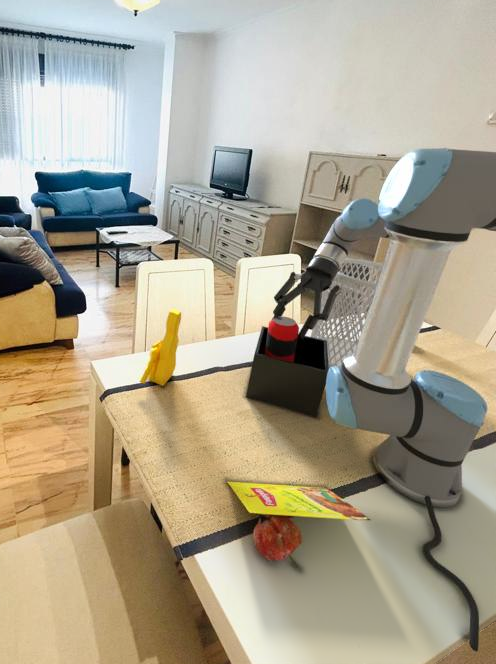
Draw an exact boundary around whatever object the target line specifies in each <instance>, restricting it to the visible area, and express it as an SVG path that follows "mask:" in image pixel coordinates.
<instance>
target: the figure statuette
mask: <svg viewBox="0 0 496 664" xmlns="http://www.w3.org/2000/svg"><path fill="white" fill-rule="evenodd" d="M181 321H182V311H180V310H177V309H173V308H172V309H171V310H170V311H169V312H168V315H167V318H166V323H165V329H166V331H165V335H164V337H163V339H161V340H159V341H158V342H156V343H154V344H153V345H151V349H150V351H149V360H148V362H147V365H146V367H145V369H144V371H143V374H142V376H141V378H140V380H139V383H141V384H144V385H145V384H146V382H147V380H148V381H149V382H152V383H155V384H157V385H159V386H162V387H164V386H165V385H166V383H167V382H168V381H169V380H170V379H171V378H172V376H173V374H174V372H175V370H176V366H177V350H178V346H179V340H180V339H179V336H178V334H179V328H180V326H181V325H180V324H181Z"/></svg>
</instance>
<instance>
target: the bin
mask: <svg viewBox="0 0 496 664" xmlns="http://www.w3.org/2000/svg"><path fill="white" fill-rule="evenodd" d="M267 333H268V326H265V325H264V326H263V325H262V326H261V329H260V332H259V336H258V340H257V344H256V347H255V350H254V354H253V359H252V364H251V368H250V374H249V378H248V384H247V390H246V394H245V398H248V399H251V400H254V401H258V402H261V403H265V404H267V405H272V406H275V407H278V408H280V409H281V408H282V409H285V410H287V411H292V412H294V413H298V414H301V415H305V416H309V417H313V418H317V416H318V413H319V409H320V406H321V403H322V400H323V396H324V392H325V390H326V379H327V373H328V370H329V362H328V348H327V341H326V340H322V339H317V338H318V337H317V338H313V337H311V336H308V335H305V337H304V338H303V340H301V339H299V336H298V338H297V344H296V350H295V356H294V362H290V361H286V360H282V359H278V358H274V357H270V356H266V355H265V348H266V340H267Z"/></svg>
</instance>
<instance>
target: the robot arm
mask: <svg viewBox="0 0 496 664" xmlns="http://www.w3.org/2000/svg"><path fill="white" fill-rule="evenodd" d="M378 202H379V203H378V204H377V203H376V201H372V200H370V199H369V198H365V197H362V198H357V199H354V200H353V201H351V202H350V203H349V204H348V205H347V206H346V207H345V208H343V210H342V212H341V213H340V215H339V216H338V217H336V219H335V221H333V223H332V224H331V226H330V228H329V230H328V232H327V234H326V236H325V237H324V239H323V241H322V243H321V244H320V246H319V247H318V248H317V250H316V252H315V253H314V255H313V258H312V259H311V260H310V262H309V264H308V265H307V267H306V269H305V271H304V272H302V273H301V274H299V273H296V272H295V271H291V272H290V275H289V277H288V279H287V280H286V281H285V282H284V284H283V285H282V287H280V289H279V290H278V291H277V292H276V294H275V295H274V296H273V300H274V301H275V303H276V306H275V307H274V309H273V311H272V313H273V317H272V318H271V320H273V319H274V318H275V317H279V316H282V317H283V315H284V313H285V311H286V310H287V309H286V306H287V305H288V304H290V303H292V301H293V300H295V299H296V298H298V297H299V296H300V295H301V294H304V293H305V292H308V293H312V294H313V295H314V303H313V313H312V314H309V315H308V317H307V318H306V320H305V321H304V323H303V325H302V327H301V329H299V332H298V336H299V339H301V340H303V338H304V337H305V336H307V333H308V331H309V330H311V331H312V329H313V328H314V327H315V325H316V323H317V321H318V320H324V322H325V321H327V320H328V317H330V316H329V314H330V312H331V311H332V306H333V304H334V301H335V298H336V297H337V296H338V294H339V293H340V291H341V288H340V287H339V286H338V285H336V286H335V285H333V284H332V281H333V279H334V278H335V276H336V274H337V273H338V272H339V270H341V266H343V265H344V263H343V262H344V260H345V259H347V257H348V255H349V253H350V252H351V250H352V248H353V247H354V245H355V244H356V242H357V241H358V240H359V239H360V238H362V237H371V238H383V239H390V241H389V245H388V248H387V251H386V254H385V257H384V259H383V263H382V264H383V266H382V269H380V271H379V276H378V277H379V279H378V282H376V283H377V285H376V288H375V291H374V294H372V296H373V297H372V296H371V297H372V300H371V304H370V307H368V310H367V311H368V313H367V316H366V319H364V322H363V324H364V326H363V329H362V332H361V331H360V334H359V337H360V338H359V341H358V344H357V348H356V351H355V353H352V354H349V355H347V356H345V358H344V360H343V363H342V366H341V367H338V366H333V367H331V368H330V369H329V370H328V373H327V379H326V386H325V397H326V399H325V400H326V405H327V410H328V413H329V416H330V417H331V419H332V421H333V422H334V423H335V424H337V425H340V426H342V427H343V426H344V427H347V428H352V429H353V430H360V431H367V432H371V433H376V434H382V435H388V437H387V438H386V439H384V440H383V441H382V442H381V443H380V444H379V445H378V446H377V447H376V449H375V452H374V454H373V465H374V467H375V469H376V471H377V472H378V474H379V475H380V477H381V478H382V479H383V480H384V481H385V482H386V483H387V484H388V485H389V486H390V487H391V488H393V489H394V490H396V491H397V492H398V493H400V494H402V495H403V496H405V497H407V498H409V499H411V500H413V501H415V502H417V503H420V504H422V505H426V510H427V513H428V517H429V520H430V523H431V525H432V528H433V532H434V536H433V539H432V540H429V541H428V542H425V543H424V544H423V546H422V552H423V555H424V558H425V559H426V560H427V562H429V564H430V565H431V566H433V567H434V569H436V570H438V571H439V572H440V573H441V574H443V575H444V576H445V577H447V578H448V579H450V580H451V581H452V582H453V583H455V585H456V586H457V587H458V588H459V589H460V591H461V593H462V595H463V596H464V597H465V599H466V602H467V604H468V607H469V641H468V644H469V648H470V649H472V651H474V652H478V651H479V641H480V639H479V638H480V636H479V635H480V634H479V633H480V614H479V609H478V604H477V602H476V601H475V598H474V596H473V594H472V592H471V591H470V590H469V588H468V587H467V585H466V583H464V581H463V580H461V578H459V577H458V576H457V575H456V574H454V572H452V571H451V570H450V569H448V568H446V567H445V566H443V565H442V564H441V563H439V561H437V560H436V559H435V557H433V555H432V553H431V550H432V549H433V548H436V547H438V546H440V544H441V543H442V536H443V535H442V531H441V527H440V525H439V522H438V519H437V516H436V513H435V509H434V508H449V507H452V506H454V505H456V504H457V503H458V501H459V499H460V497H461V496H462V493H463V463H464V460H465V458H466V456H467V455H468V453H469V451H470V448H471V446H472V445H473V442H474V440H475V439H476V437H477V435H478V432H479V431H480V429H481V428H482V427H483V426H484V423H485V418H486V415H487V413H488V404H487V401H486V400H485V398H484V397H483V396H482V395H481V394H480V393H479V392H477V390H475V389H474V388H473V387H471V386H469V385H468V384H466V383H465V382H463V381H461V380H459V379H457V378H455V377H453V376H451V375H448V374H445V373H442V372H439V371H436V370H430V369H423V370H420V371H418V372H417V373H416V374H415V375H414V378H411V375H410V374H409V372H408V371H407V370H406V368H407V365H408V363H409V359H410V357H411V355H412V353H413V350H414V347H415V344H416V342H417V340H418V337H419V335H420V331H421V330H422V327H423V324H424V321H425V318H426V316H427V314H428V311H429V308H430V306H431V303H432V300H433V298H434V295H435V293H436V290H437V288H438V285H439V282H440V280H441V277H442V275H443V272H444V270H445V267H446V265H447V262H448V259H449V257H450V255H451V251H452V250H453V249H455V248H457V247H459V246H462V245H464V244H466V243H467V242H468V240H469V237H470V234H471V233H472V231H475V230H481V229H482V230H485V231H489V232H496V151H486V150H485V151H484V150H470V149H469V150H468V149H455V148H448V147H443V148H417V149H413V150H411V151H409V152H407V153H406V154H404V155H403V156H402V157H401V158H399V160H398V161H397V162H396V163H395V165H394V166H393V167H392V169H391V170H390V172H389V173H388V175H387V177H386V179H385V181H384V183H383V185H382V188H381V190H380V193H379V198H378ZM299 280H300V282H299ZM297 282H299V283H298V284H297V285H296V286H295V284H296V283H297ZM294 286H295V287H294ZM293 287H294V288H293ZM292 288H293V289H292ZM329 288H330V293H328V295H329V296H328V299H327V301H326V304H325V306H324V309H323V312H322V313H320V309H321V298H322V292H323V291H325V290H327V289H329ZM337 298H338V297H337ZM333 307H334V306H333Z"/></svg>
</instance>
